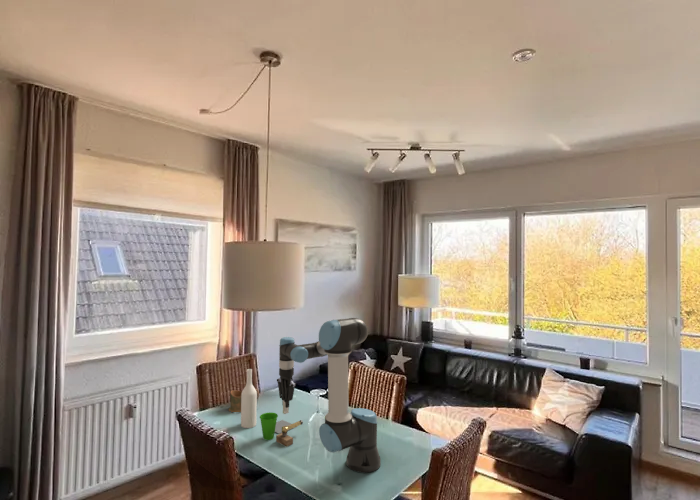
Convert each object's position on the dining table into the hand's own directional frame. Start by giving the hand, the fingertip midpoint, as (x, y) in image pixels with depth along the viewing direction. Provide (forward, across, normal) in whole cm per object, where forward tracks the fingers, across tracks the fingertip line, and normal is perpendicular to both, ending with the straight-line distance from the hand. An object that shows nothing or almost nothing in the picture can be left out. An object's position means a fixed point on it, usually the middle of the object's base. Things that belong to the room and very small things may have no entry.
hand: (285, 412), depth 203 cm
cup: (+10, +2, +10) cm, 14 cm away
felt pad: (+10, +6, -2) cm, 12 cm away
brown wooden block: (+10, -8, +8) cm, 15 cm away
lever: (+5, -7, +2) cm, 9 cm away
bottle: (+11, +22, +8) cm, 25 cm away
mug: (+11, +42, -3) cm, 44 cm away
